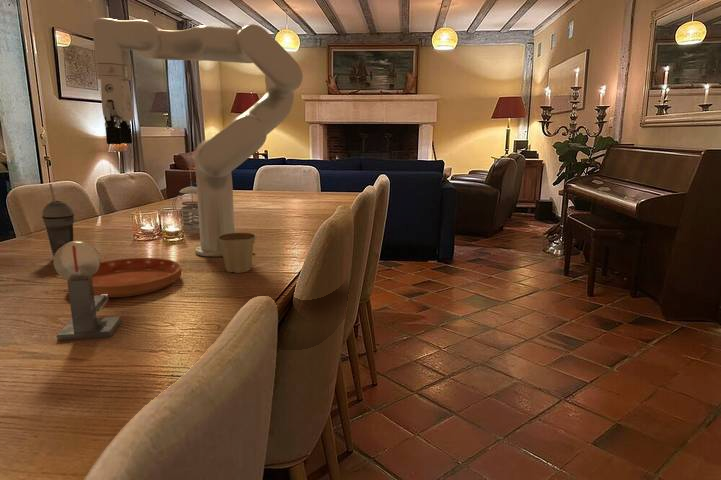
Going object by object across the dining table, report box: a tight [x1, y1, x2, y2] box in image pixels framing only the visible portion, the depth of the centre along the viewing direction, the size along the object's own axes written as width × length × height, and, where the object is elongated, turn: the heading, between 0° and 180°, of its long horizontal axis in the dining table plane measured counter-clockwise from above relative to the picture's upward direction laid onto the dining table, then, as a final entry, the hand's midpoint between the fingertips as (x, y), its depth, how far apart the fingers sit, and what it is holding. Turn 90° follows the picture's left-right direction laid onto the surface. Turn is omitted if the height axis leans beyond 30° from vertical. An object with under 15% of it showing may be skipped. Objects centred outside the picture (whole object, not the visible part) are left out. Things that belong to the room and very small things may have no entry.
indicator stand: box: [52, 240, 122, 342], centre depth 81 cm, size 8×8×16 cm
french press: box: [171, 157, 200, 234], centre depth 164 cm, size 10×12×25 cm
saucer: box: [66, 257, 182, 299], centre depth 106 cm, size 23×23×4 cm
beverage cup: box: [41, 183, 75, 258], centre depth 125 cm, size 7×7×20 cm
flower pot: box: [217, 232, 257, 274], centre depth 118 cm, size 9×9×9 cm
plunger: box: [97, 294, 109, 312], centre depth 87 cm, size 1×6×1 cm, turn 13°
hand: (120, 143), depth 121 cm, fingers open, 9 cm apart
